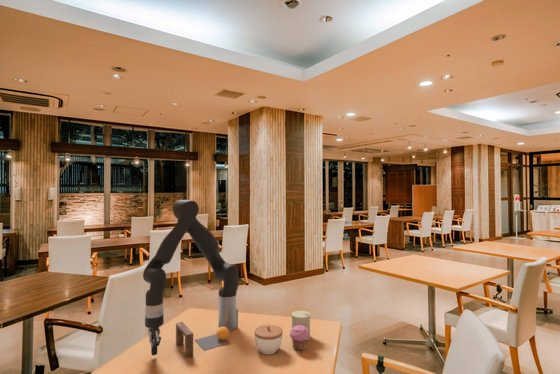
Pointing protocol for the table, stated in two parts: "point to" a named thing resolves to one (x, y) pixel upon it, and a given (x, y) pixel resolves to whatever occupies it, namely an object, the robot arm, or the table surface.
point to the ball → (222, 333)
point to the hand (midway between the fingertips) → (154, 354)
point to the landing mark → (210, 342)
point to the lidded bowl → (268, 338)
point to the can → (301, 319)
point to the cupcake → (299, 336)
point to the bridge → (185, 331)
